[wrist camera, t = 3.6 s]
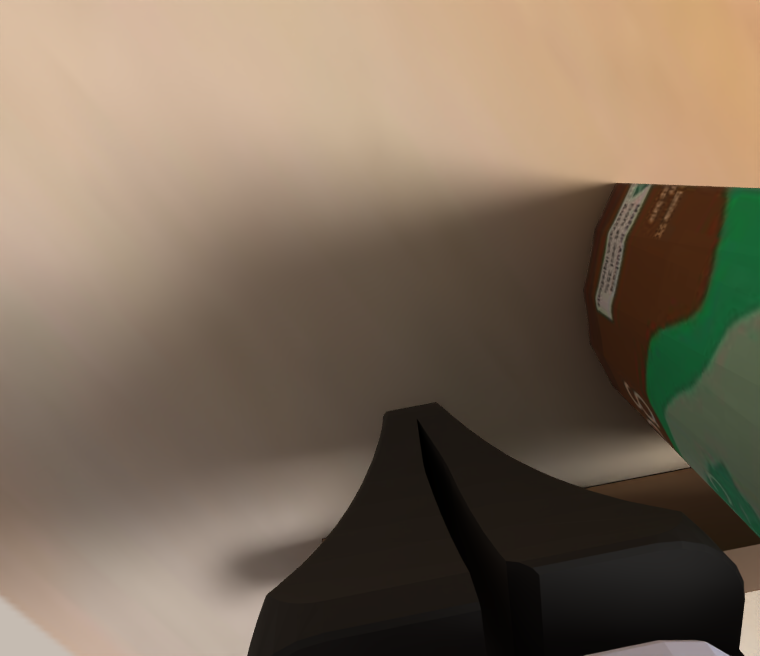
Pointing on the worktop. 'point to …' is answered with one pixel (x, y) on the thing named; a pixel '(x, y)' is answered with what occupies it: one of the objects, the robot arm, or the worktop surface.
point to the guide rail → (696, 514)
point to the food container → (685, 324)
